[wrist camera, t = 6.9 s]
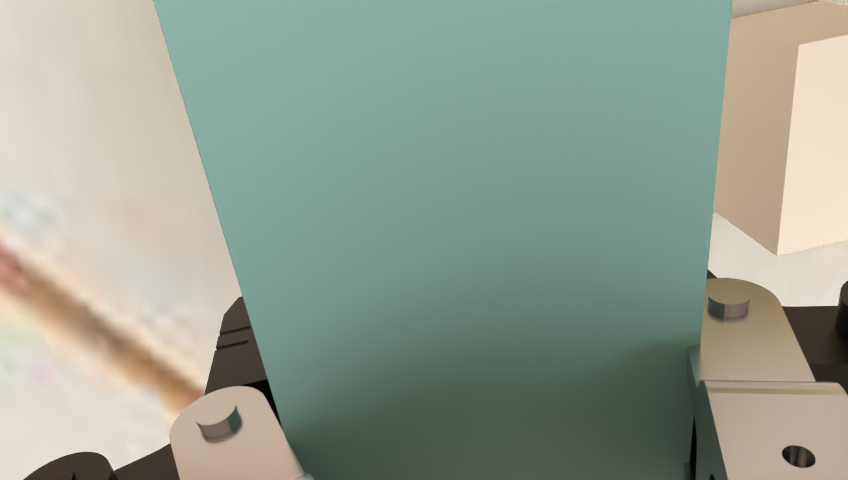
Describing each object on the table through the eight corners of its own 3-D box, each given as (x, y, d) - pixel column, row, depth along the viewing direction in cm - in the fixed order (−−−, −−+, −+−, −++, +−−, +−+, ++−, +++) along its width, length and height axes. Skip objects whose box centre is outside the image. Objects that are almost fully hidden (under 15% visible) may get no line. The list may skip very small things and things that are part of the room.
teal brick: (530, -193, 10) (761, -317, 5) (549, 288, 14) (685, 507, 9) (212, -151, 10) (81, -235, 4) (326, 330, 14) (329, 583, 9)
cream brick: (814, 0, 29) (925, 18, 24) (794, 182, 33) (885, 231, 28) (709, 22, 29) (799, 44, 23) (702, 202, 33) (776, 256, 28)
